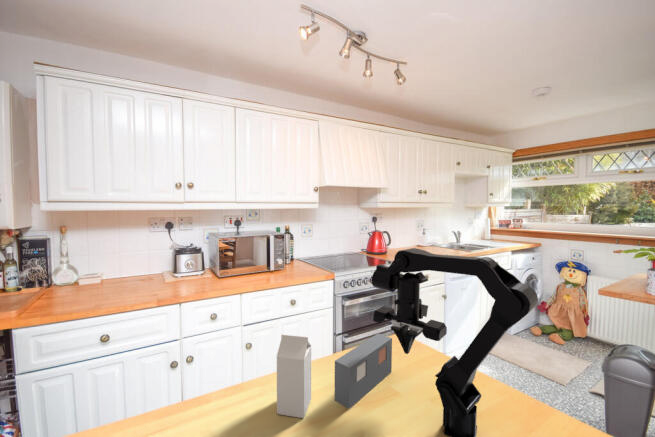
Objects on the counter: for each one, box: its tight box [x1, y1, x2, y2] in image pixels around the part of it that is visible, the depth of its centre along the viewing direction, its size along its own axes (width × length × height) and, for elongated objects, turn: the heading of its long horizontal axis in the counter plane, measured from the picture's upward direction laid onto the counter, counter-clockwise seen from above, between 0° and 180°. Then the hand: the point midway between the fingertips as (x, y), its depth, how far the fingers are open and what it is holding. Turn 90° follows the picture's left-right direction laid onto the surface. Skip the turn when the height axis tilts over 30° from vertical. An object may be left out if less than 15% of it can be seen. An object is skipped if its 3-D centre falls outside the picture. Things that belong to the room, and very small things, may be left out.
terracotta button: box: [379, 347, 386, 364], centre depth 88 cm, size 2×4×4 cm, turn 139°
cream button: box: [357, 361, 366, 382], centre depth 79 cm, size 2×4×4 cm, turn 139°
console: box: [334, 332, 393, 410], centre depth 85 cm, size 5×22×11 cm, turn 139°
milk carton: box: [276, 334, 312, 419], centre depth 75 cm, size 7×7×19 cm
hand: (406, 353), depth 78 cm, fingers closed
